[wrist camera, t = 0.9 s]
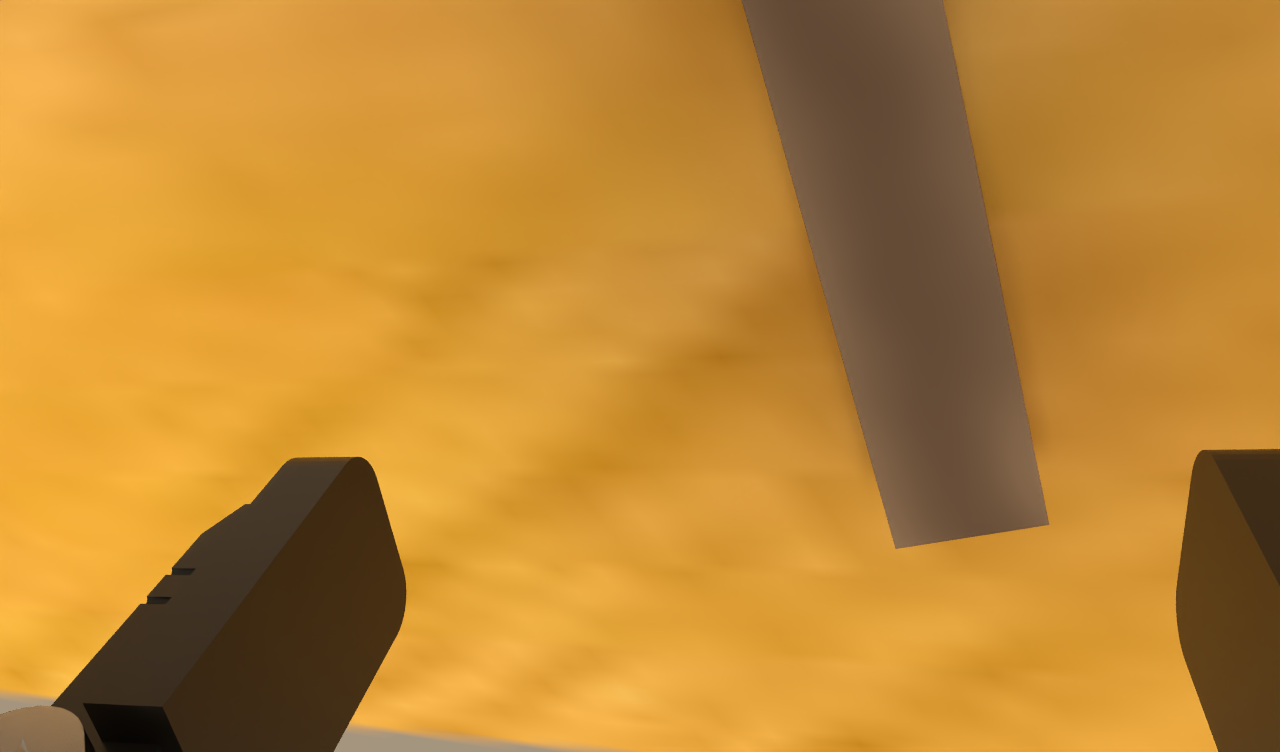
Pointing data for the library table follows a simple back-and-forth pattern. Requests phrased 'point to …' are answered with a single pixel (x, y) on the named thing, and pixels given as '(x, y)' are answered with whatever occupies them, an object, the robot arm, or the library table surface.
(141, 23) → the library table surface
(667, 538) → the library table surface
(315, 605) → the robot arm
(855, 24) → the walnut bar
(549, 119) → the library table surface
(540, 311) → the library table surface
